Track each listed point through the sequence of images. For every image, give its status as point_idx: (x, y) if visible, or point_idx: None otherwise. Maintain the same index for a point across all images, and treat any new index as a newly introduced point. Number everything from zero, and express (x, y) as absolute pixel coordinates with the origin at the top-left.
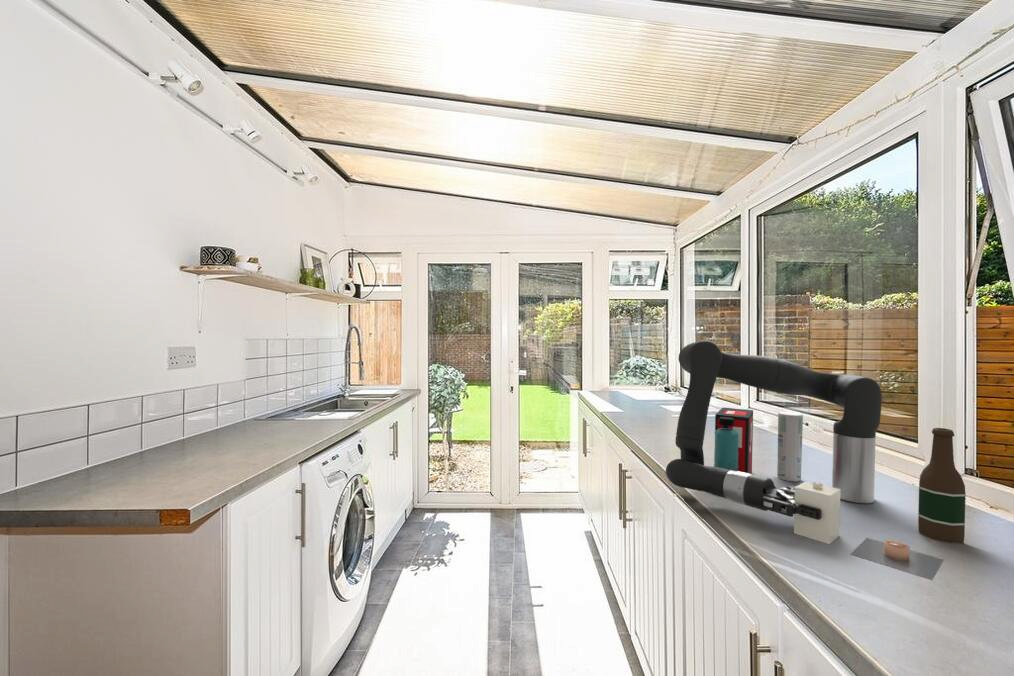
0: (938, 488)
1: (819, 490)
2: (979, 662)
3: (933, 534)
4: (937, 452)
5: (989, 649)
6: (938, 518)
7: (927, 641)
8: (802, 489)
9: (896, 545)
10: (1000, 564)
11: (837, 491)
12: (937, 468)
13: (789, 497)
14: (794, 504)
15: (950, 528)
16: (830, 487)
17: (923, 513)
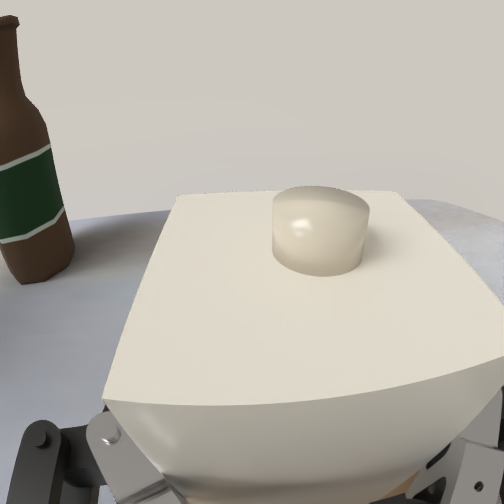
0: (38, 140)
1: (369, 230)
2: (453, 206)
3: (64, 249)
4: (9, 65)
5: (424, 203)
6: (55, 209)
7: (474, 224)
8: (491, 297)
9: None
10: (121, 216)
11: (250, 193)
12: (18, 99)
13: (490, 452)
14: (498, 395)
15: (66, 216)
16: (183, 220)
17: (33, 223)
